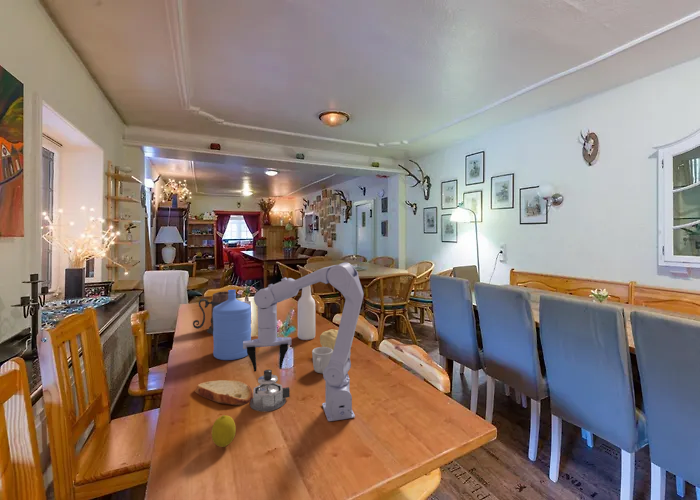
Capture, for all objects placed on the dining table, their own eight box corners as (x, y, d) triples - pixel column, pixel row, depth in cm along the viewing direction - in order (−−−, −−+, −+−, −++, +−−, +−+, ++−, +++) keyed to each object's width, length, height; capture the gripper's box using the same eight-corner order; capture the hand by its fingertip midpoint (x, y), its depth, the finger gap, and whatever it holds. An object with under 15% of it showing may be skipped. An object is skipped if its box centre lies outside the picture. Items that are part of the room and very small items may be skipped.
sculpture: (315, 353, 142) (315, 329, 142) (337, 347, 150) (337, 324, 150) (332, 361, 134) (332, 335, 133) (353, 354, 142) (353, 329, 141)
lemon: (238, 439, 83) (238, 409, 83) (231, 454, 78) (231, 421, 77) (216, 439, 83) (216, 409, 83) (208, 454, 78) (207, 422, 77)
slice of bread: (195, 387, 111) (195, 377, 111) (250, 379, 118) (250, 369, 117) (189, 415, 95) (189, 403, 94) (253, 404, 101) (253, 393, 101)
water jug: (253, 357, 137) (252, 292, 135) (212, 363, 131) (211, 294, 130) (250, 345, 151) (249, 286, 150) (213, 350, 146) (212, 288, 144)
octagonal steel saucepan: (290, 405, 99) (290, 393, 99) (253, 410, 96) (252, 398, 96) (288, 391, 108) (288, 380, 107) (253, 395, 105) (253, 384, 105)
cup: (327, 379, 117) (327, 358, 117) (306, 377, 119) (306, 356, 118) (335, 367, 128) (335, 347, 127) (315, 365, 129) (315, 346, 129)
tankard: (237, 323, 188) (237, 289, 187) (242, 331, 173) (241, 294, 172) (192, 328, 177) (191, 292, 176) (193, 338, 162) (192, 298, 161)
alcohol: (296, 335, 167) (296, 277, 165) (313, 334, 169) (313, 276, 167) (298, 341, 158) (298, 280, 157) (316, 339, 161) (316, 279, 159)
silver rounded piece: (279, 395, 99) (279, 374, 99) (256, 398, 97) (256, 376, 97) (278, 385, 106) (278, 365, 105) (257, 387, 104) (256, 367, 103)
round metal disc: (287, 408, 98) (287, 407, 98) (249, 414, 95) (249, 412, 95) (284, 391, 108) (284, 390, 108) (250, 395, 106) (250, 394, 106)
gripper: (290, 321, 107) (290, 361, 107) (243, 324, 103) (244, 366, 104) (291, 327, 100) (292, 370, 101) (242, 330, 96) (243, 375, 97)
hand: (267, 368), depth 102 cm, fingers open, 7 cm apart
